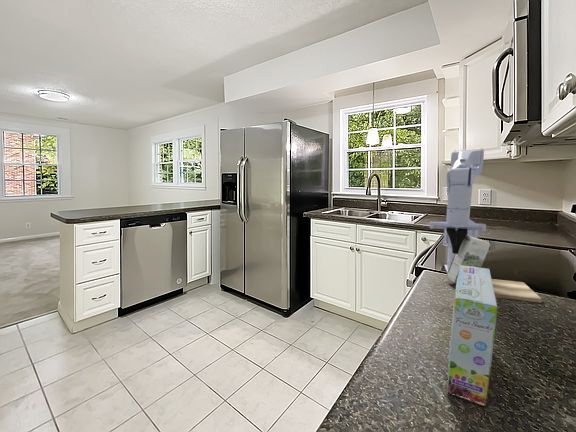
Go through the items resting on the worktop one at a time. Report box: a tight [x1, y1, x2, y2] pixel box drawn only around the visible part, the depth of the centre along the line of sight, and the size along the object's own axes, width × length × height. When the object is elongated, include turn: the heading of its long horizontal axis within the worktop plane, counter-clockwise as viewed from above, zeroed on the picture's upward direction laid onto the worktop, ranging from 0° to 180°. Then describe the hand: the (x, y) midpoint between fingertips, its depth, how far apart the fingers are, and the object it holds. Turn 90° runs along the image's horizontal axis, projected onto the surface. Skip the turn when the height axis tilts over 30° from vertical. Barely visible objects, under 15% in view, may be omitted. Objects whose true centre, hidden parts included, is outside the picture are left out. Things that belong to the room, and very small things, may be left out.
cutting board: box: [491, 278, 543, 303], centre depth 85 cm, size 14×14×1 cm
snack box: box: [446, 265, 498, 404], centre depth 50 cm, size 21×6×15 cm, turn 148°
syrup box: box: [445, 235, 491, 284], centre depth 88 cm, size 6×6×14 cm
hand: (455, 253), depth 89 cm, fingers closed
